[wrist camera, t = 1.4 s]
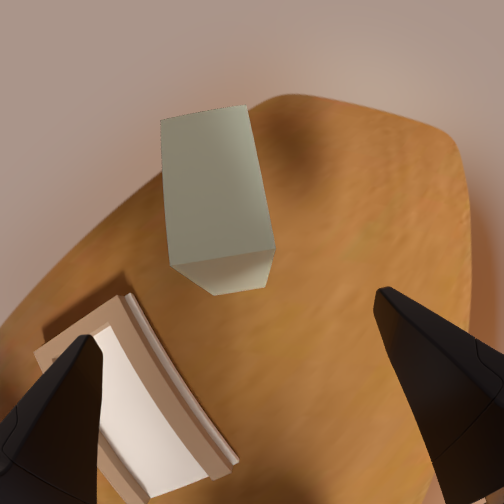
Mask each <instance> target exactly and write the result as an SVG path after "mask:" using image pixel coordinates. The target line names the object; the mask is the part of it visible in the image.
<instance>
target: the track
mask: <svg viewBox="0 0 504 504" xmlns="http://www.w3.org/2000/svg"><path fill="white" fill-rule="evenodd" d="M83 334H90V335H92V336H93V338H94V339H95V341H96V342H97V344H98V345H99V347H100V349H101V350H102V353H103V383H102V405H101V415H100V426H99V439H98V457H97V467H98V468H99V469H100V471H101V472H102V473H103V475H104V476H105V477H106V479H107V480H108V481H109V483H110V484H111V485H112V486H113V488H114V489H115V490H116V491H117V493H118V494H119V495H120V496H121V498H122V499H123V500H124V501H125V502H126V503H127V504H147V503H148V501H149V500H150V498H152V497H156V496H158V495H161V494H164V493H167V492H170V491H173V490H175V489H178V488H181V487H183V486H186V485H189V484H191V483H194V482H196V481H199V480H201V479H203V478H206V477H208V476H209V477H210V478H211V479H212V481H214V480H216V479H219V478H221V477H223V476H225V475H228V474H230V473H232V468H233V465H234V464H237V463H239V458H238V456H237V455H236V454H235V453H234V451H233V450H232V449H231V447H230V446H229V445H228V444H227V442H226V441H225V440H224V438H223V437H222V436H221V434H220V433H219V431H218V430H217V429H216V427H215V426H214V425H213V423H212V422H211V420H210V419H209V418H208V416H207V415H206V413H205V412H204V411H203V409H202V408H201V406H200V405H199V403H198V402H197V400H196V399H195V397H194V396H193V394H192V393H191V391H190V390H189V388H188V387H187V385H186V384H185V382H184V381H183V379H182V378H181V376H180V374H179V373H178V371H177V370H176V368H175V367H174V365H173V363H172V362H171V360H170V358H169V357H168V355H167V353H166V352H165V350H164V348H163V347H162V345H161V343H160V342H159V340H158V338H157V336H156V335H155V333H154V331H153V329H152V328H151V326H150V324H149V322H148V321H147V319H146V317H145V315H144V313H143V311H142V310H141V308H140V306H139V304H138V302H137V300H136V298H135V296H134V294H132V293H129V294H127V295H126V296H120V295H116V296H115V297H113V298H112V299H110V300H109V301H107V302H106V303H104V304H103V305H101V306H100V307H98V308H97V309H95V310H94V311H92V312H91V313H89V314H88V315H86V316H85V317H83V318H82V319H80V320H79V321H78V322H76V323H75V324H73V325H72V326H70V327H69V328H67V329H66V330H64V331H63V332H62V333H60V334H59V335H57V336H56V337H54V338H53V339H52V340H50V341H49V342H47V343H46V344H44V345H43V346H42V347H40V348H39V349H37V350H36V351H35V352H34V355H35V357H36V359H37V362H38V364H39V366H40V368H41V370H42V373H43V374H44V372H45V371H46V370H47V369H48V368H49V367H50V366H51V365H52V364H53V363H54V361H55V360H56V359H57V358H58V357H59V356H60V355H61V354H62V353H63V352H64V351H65V350H66V349H67V347H68V346H69V345H70V344H71V343H72V342H73V341H74V340H75V339H76V338H77V337H78V336H79V335H83Z"/></svg>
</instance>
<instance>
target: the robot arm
mask: <svg viewBox="0 0 504 504" xmlns="http://www.w3.org/2000/svg"><path fill="white" fill-rule="evenodd" d="M373 312H374V317H375V319H376V322H377V325H378V328H379V331H380V334H381V337H382V340H383V343H384V346H385V349H386V352H387V354H388V357H389V359H390V362H391V364H392V366H393V368H394V370H395V373H396V375H397V377H398V379H399V382H400V384H401V386H402V389H403V391H404V393H405V395H406V398H407V400H408V403H409V405H410V407H411V410H412V412H413V415H414V417H415V420H416V422H417V425H418V427H419V430H420V432H421V435H422V437H423V440H424V442H425V445H426V448H427V450H428V453H429V456H430V459H431V461H432V465H433V467H434V470H435V473H436V476H437V479H438V482H439V485H440V488H441V491H442V494H443V497H444V500H445V503H446V504H472V503H474V502H476V501H478V500H480V499H482V498H484V497H485V499H486V503H484V504H504V354H502V353H500V352H498V351H496V350H495V349H493V348H491V347H490V346H488V345H486V344H485V343H483V342H481V341H480V340H478V339H475V337H473V336H472V335H470V334H469V333H467V332H465V331H464V330H462V329H461V328H459V327H457V326H456V325H454V324H452V323H451V322H449V321H447V320H446V319H444V318H442V317H441V316H439V315H438V314H436V313H434V312H433V311H431V310H429V309H427V308H426V307H424V306H422V305H421V304H419V303H417V302H416V301H414V300H412V299H411V298H409V297H407V296H405V295H404V294H402V293H400V292H399V291H397V290H395V289H393V288H392V287H383V288H379V289H378V290H377V291H376V296H375V302H374V307H373ZM102 383H103V353H102V350H101V349H100V347H99V345H98V344H97V342H96V341H95V339H94V338H93V336H92V335H90V334H83V335H79V336H78V337H77V338H76V339H75V340H74V341H73V342H72V343H71V344H70V345H69V346H68V347H67V349H66V350H65V351H64V352H63V353H62V354H61V355H60V356H59V357H58V358H57V359H56V360H55V361H54V363H53V364H52V365H51V366H50V367H49V368H48V369H47V370H46V371H45V372H44V374H43V375H42V376H41V377H40V378H39V379H38V380H37V381H36V383H35V384H34V385H33V386H32V387H31V388H30V389H29V390H28V392H27V393H26V394H25V395H24V396H23V397H22V399H21V400H20V401H19V402H18V403H17V405H16V406H15V407H14V408H13V409H12V410H11V412H10V413H9V414H8V415H7V416H6V417H5V418H4V420H3V421H2V422H1V423H0V504H97V457H98V439H99V426H100V415H101V405H102Z"/></svg>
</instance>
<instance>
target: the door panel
mask: <svg viewBox="0 0 504 504" xmlns="http://www.w3.org/2000/svg"><path fill="white" fill-rule="evenodd" d="M161 154H162V175H163V192H164V207H165V220H166V231H167V242H168V252H169V261H170V266H171V267H172V268H174V269H175V270H176V271H178V272H179V273H181V274H182V275H184V276H185V277H187V278H188V279H190V280H191V281H193V282H194V283H196V284H197V285H199V286H200V287H201V288H203V289H204V290H206V291H207V292H209V293H211V294H212V295H221V294H227V293H233V292H239V291H245V290H251V289H257V288H263V287H265V286H266V282H267V279H268V275H269V271H270V268H271V264H272V261H273V257H274V253H275V250H276V247H275V242H274V236H273V231H272V226H271V221H270V216H269V211H268V206H267V201H266V196H265V191H264V186H263V181H262V176H261V171H260V166H259V162H258V157H257V152H256V147H255V143H254V138H253V133H252V129H251V124H250V119H249V115H248V110H247V106H246V105H240V106H233V107H227V108H220V109H214V110H208V111H203V112H198V113H193V114H187V115H183V116H178V117H173V118H168V119H164V120H161Z"/></svg>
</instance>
